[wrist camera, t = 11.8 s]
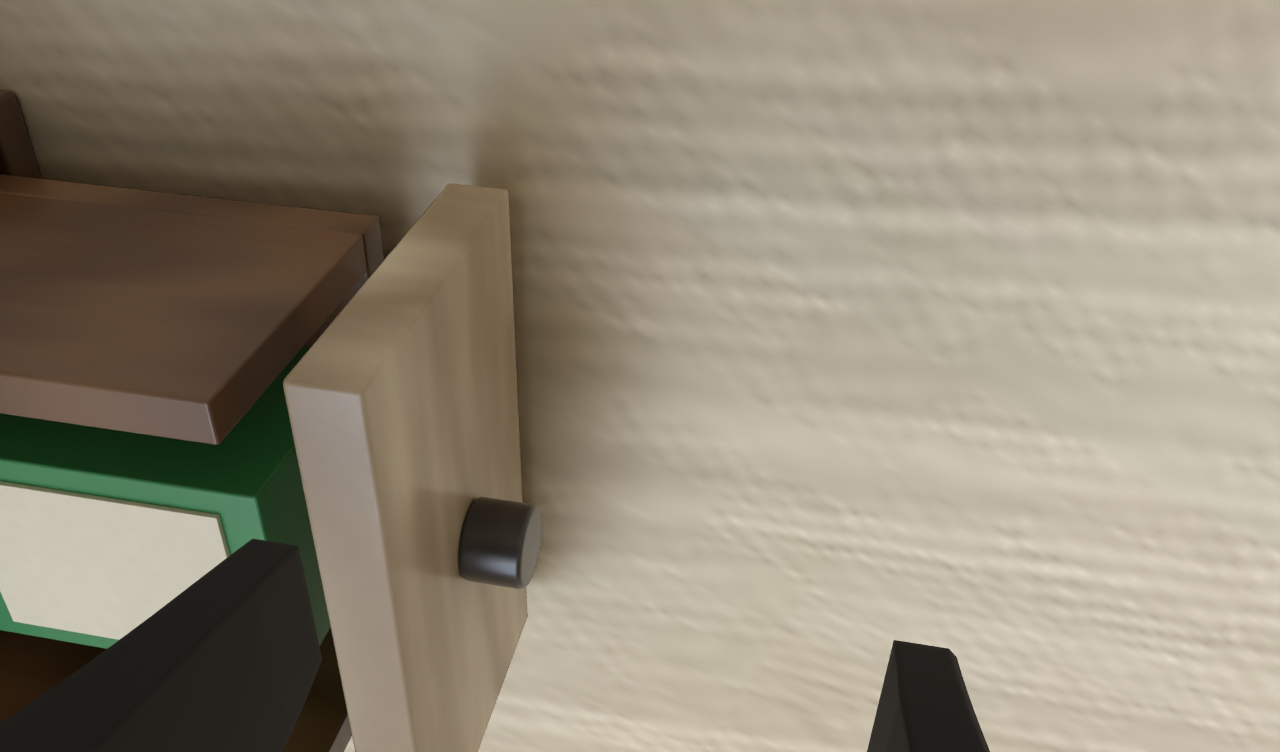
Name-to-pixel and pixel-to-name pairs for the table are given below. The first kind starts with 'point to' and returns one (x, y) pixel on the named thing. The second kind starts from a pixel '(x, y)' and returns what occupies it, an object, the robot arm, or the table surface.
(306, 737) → the drawer
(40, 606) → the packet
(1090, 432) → the table surface
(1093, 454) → the table surface
